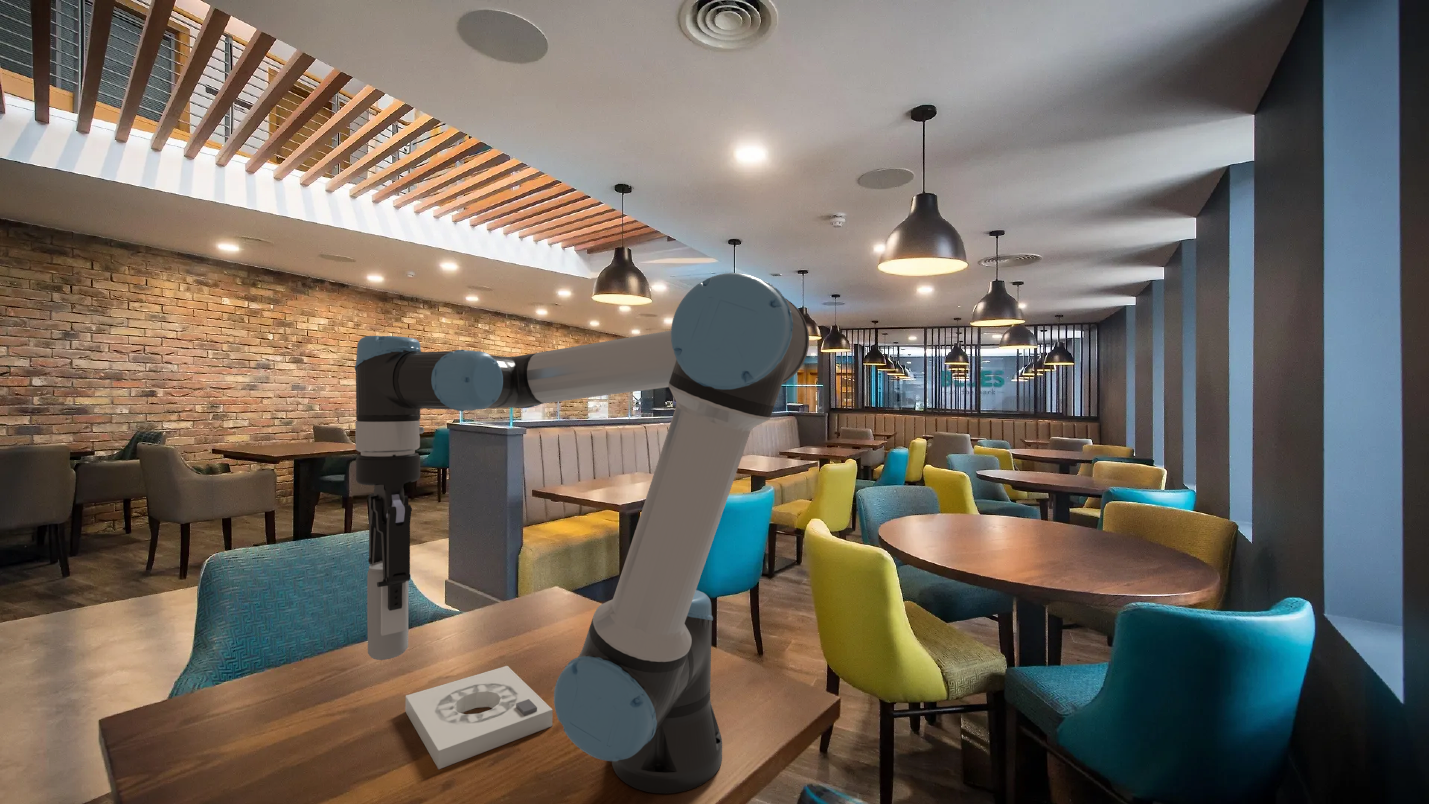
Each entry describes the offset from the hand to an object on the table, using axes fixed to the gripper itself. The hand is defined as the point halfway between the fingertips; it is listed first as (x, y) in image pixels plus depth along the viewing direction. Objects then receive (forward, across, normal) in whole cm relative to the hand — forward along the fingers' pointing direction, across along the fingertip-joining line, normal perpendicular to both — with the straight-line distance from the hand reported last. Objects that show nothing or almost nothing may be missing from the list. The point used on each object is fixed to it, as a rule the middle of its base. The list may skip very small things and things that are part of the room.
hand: (388, 625), depth 78 cm
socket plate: (+19, +3, -13) cm, 23 cm away
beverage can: (+4, 0, 0) cm, 4 cm away
